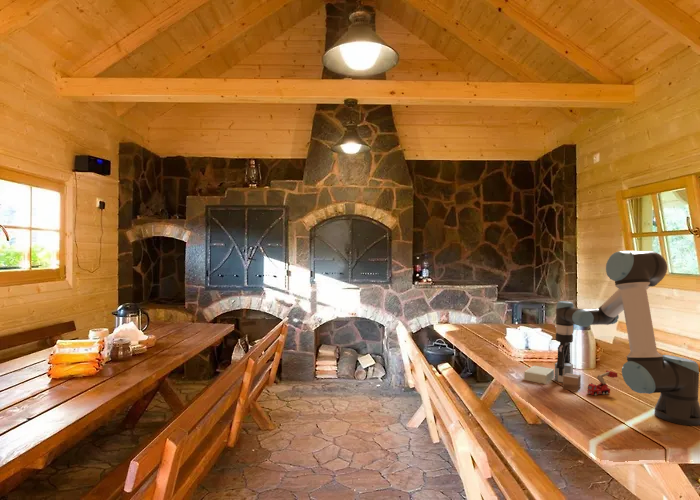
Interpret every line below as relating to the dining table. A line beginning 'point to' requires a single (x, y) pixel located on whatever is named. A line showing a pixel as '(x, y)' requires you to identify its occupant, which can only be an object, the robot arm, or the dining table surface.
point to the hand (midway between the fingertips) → (563, 379)
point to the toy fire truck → (601, 384)
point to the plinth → (539, 374)
